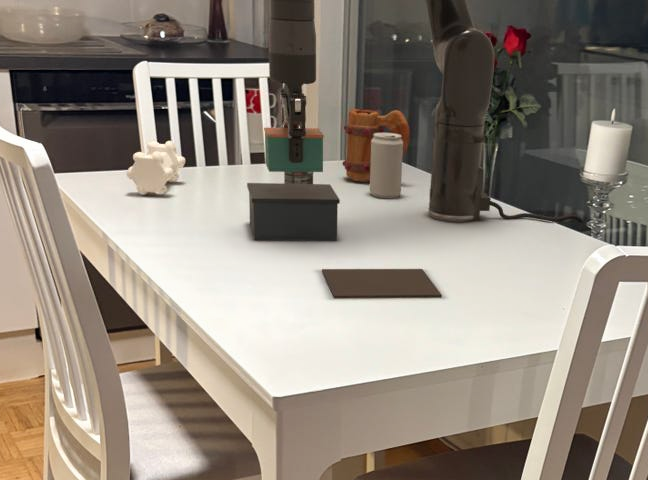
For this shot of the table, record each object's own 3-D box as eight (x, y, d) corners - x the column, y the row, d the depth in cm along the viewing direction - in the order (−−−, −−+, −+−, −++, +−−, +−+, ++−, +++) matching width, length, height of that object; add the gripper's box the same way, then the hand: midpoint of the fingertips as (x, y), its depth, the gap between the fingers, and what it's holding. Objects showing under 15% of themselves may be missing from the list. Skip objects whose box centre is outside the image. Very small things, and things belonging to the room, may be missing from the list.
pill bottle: (315, 185, 203) (316, 129, 198) (310, 191, 198) (310, 133, 192) (287, 183, 203) (287, 126, 198) (281, 189, 198) (280, 131, 193)
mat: (422, 271, 154) (422, 268, 154) (441, 297, 143) (441, 294, 143) (321, 271, 150) (321, 269, 150) (333, 298, 139) (333, 295, 139)
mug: (335, 180, 209) (336, 106, 202) (349, 174, 216) (351, 102, 208) (399, 189, 205) (402, 114, 198) (411, 182, 212) (415, 110, 205)
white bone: (172, 198, 185) (169, 154, 181) (126, 195, 185) (122, 151, 181) (187, 181, 198) (185, 140, 194) (144, 179, 198) (141, 137, 194)
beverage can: (382, 200, 195) (384, 138, 190) (363, 193, 200) (365, 132, 194) (406, 197, 199) (410, 136, 193) (387, 190, 203) (390, 130, 198)
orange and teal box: (318, 164, 168) (318, 128, 165) (323, 172, 163) (323, 134, 160) (265, 164, 166) (264, 127, 163) (268, 171, 161) (267, 133, 158)
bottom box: (329, 223, 176) (330, 184, 173) (338, 240, 167) (339, 199, 163) (248, 222, 173) (247, 182, 170) (252, 240, 163) (251, 198, 160)
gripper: (322, 55, 150) (321, 167, 159) (310, 46, 163) (310, 150, 171) (273, 54, 149) (275, 167, 157) (264, 44, 161) (267, 150, 169)
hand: (293, 158), depth 164 cm, fingers closed on orange and teal box, 6 cm apart
